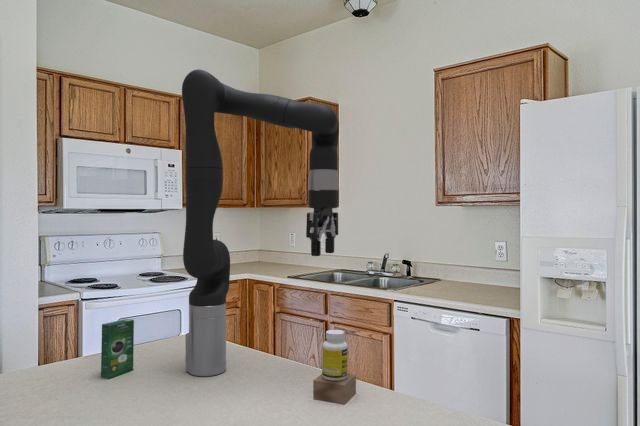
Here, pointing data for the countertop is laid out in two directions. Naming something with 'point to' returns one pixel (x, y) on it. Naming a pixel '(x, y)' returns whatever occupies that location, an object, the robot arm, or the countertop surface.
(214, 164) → the robot arm
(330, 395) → the walnut block
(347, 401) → the mat
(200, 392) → the countertop surface
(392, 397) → the countertop surface
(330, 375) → the supplement bottle
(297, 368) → the countertop surface
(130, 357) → the coffee box
